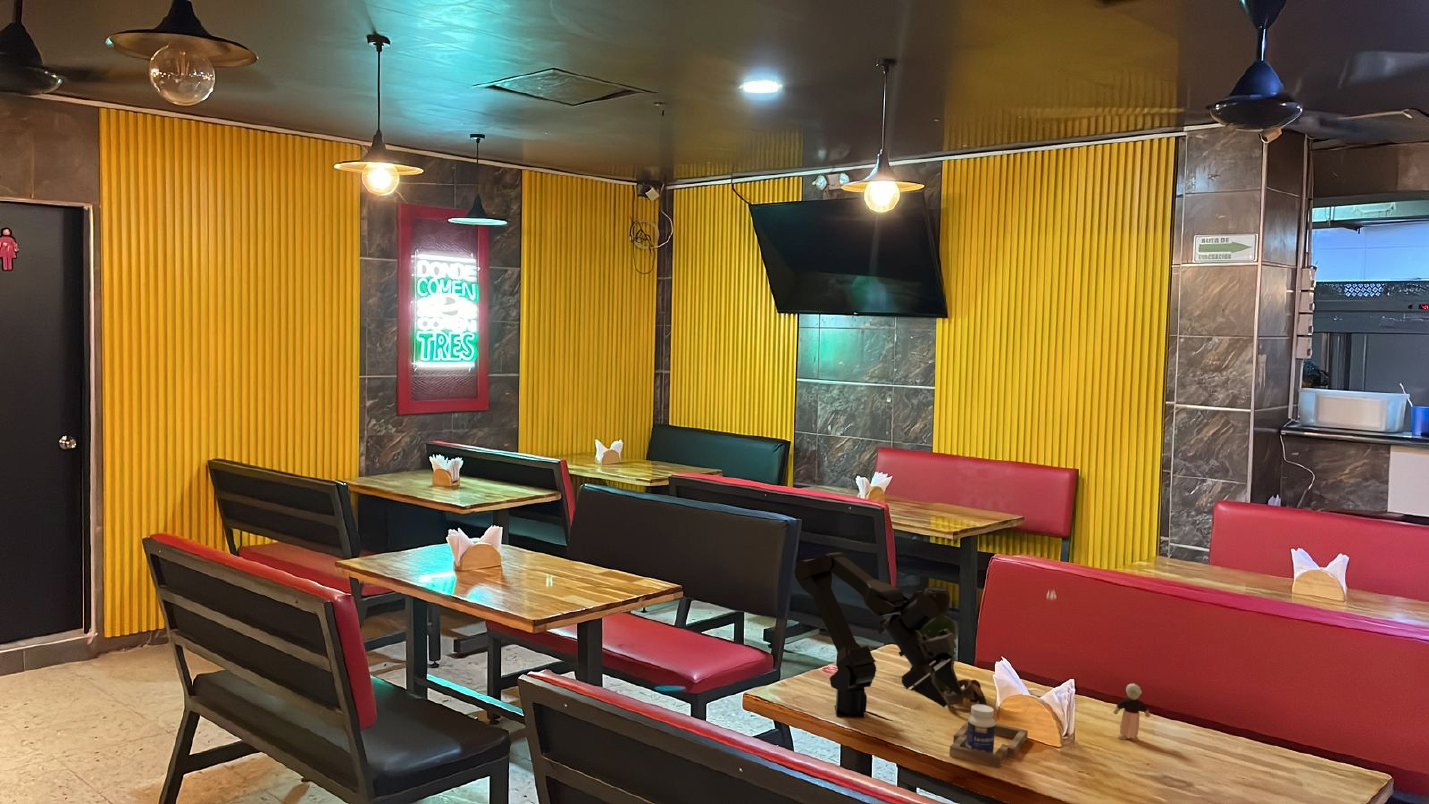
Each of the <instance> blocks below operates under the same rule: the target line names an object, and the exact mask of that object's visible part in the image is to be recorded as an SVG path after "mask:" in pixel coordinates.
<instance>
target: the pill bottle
mask: <svg viewBox="0 0 1429 804" xmlns="http://www.w3.org/2000/svg"><path fill="white" fill-rule="evenodd" d="M970 707H971V709H970V712H971V715H970V716H968V719H967V721H968V728H967V740H966V747H965V748H969V749H973V750H977V751H981V752H986V753H990V754H993V751H994V746H995V736H996V735H995V723H996V720H995V719H994V718H993V717H994V713H995V710H994V708H993V707H992V706H989V705H987V706H986V705H981V704H980V703H978V704H977V703H974V704H972V705H971V706H970Z"/></svg>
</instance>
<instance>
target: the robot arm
mask: <svg viewBox="0 0 1429 804" xmlns="http://www.w3.org/2000/svg"><path fill="white" fill-rule="evenodd" d="M833 575H835V576H836V577H837V578H839V580H840V581H842V582H843V583H844V584H846V585H847V586H849V587H850V588H851V589H852V590H854V591H855V592H856V593H858V594H859V595H860V596H861V597H862V599H863V601H864V605H865V606H866V607H867V608H868V610H870V611H871V613H873V614H874V615H875V616H877V617H883V616H884V617H885V616H889V615H890V617H889V618H888V619H887V618H883V619H882V620H880V621H879V622H878V630H877V633H878V634H879V635H882V634H883V633H885V632H886V633H887V635H889V637H890V638H891V639H892V641H893V642H894V643H895V645H896V646H897V647H898V649H899V650H900V651H899V652H898V655H899V657H900V658H902V657H903V656H904V657H905V659H906V660H907V661H908V662H909V664H910V668H909V670H908V671H907V672H906V673H904V674H903V675H902V676H901V684H902V686H903V687H904V688H905V689H906V690H908V689H910V691H911V692H913V691H914V692H916V693H918V694H920V695H921V696H923V697H926V698H927V699H928V700H931V701H932V702H934V703H936V704H937V705H940V706H941V707H942V708H945V707H946V706H947V702H946V700H945V698H946V697H945V695H943V693H942V690H939V688H938V686H937V685H936V683H935V677H936V678H938V679H939V680H940V681H941V682H942V683H944V684H945V685H946V686H947V687H949V688H950V689H951V690H952V691H953V693H956V694H958V695H960V694H961V693H962V690H963V689H962V687H960V684H959V682H958V681H959V679H958V677H957V674H956V671H955V668H954V667H955V661H956V659H957V658H956V656H955V655H956V654H957V652H956V651H955V649H956V648H958V647H957V644H956V641H954V640H956V639H957V637H956V634H955V635H953V632H952V633H951V632H950V631H949V629H948V628H947V629H943V630H941V631H940V632H939V636H937V637H935V638H931V639H930V638H929V637H928V636H927V635H925V634H924V635H921V634H920V633H919V631H918V630H921V629H922V628H924V627H925V626H926V625H927V624H929V623H930V622H931V621H932V620H934V619H935V618H936V617H937V616H938V614H939V609H938V606H937V604H936V602H934V601H933V600H932V599H931V598H929V597H928V596H925V595H924V591H922V590H919V591H915V592H914V593H912V595H911V596H910V597H909V596H906V595H904V593H903V591H901V590H900V589H899V588H898V587H896V586H893V585H892V584H889V583H886V582H882V581H879V580H877V579H875V578H874V577H872V576H871V575H870V574H868V572H866V571H864V570H863V569H861V568H860V567H859V566H858V565H856V563H854V562H852V561H851V560H850V559H848V558H847V557H846V555H845V554H844V553H842V552H840V551H839V552H832V553H826V554H825V555H822V556H820V557H817V558H811V559H804V560H803V559H802V560H799V561H798V562H797V563H796V566H795V568H794V578H795V579H796V581H797V583H798V584H799V586H800V587H801V589H802V590H803V591H804V592H805V593H806V594H808V595H809V596H811V597H812V599H813V600H814V604H815V606H816V608H817V610H818V612H819V614H820V616H821V619H822V620H823V623H824V625H825V628H826V630H827V632H828V635H829V637H830V638H831V640H832V642H833V643H832V644H833V645H834V647H835V649H836V652H837V653H836V661H835V665H836V668H837V671H836V672H835V673H833V674H832V675H831V676H830V677H829V681H830V683H829V684H830V687H831V688H832V689H835V690H836V692H835V694H836V696H835V705H834V710H835V715H836V717H841V718H842V717H845V718H863V719H864V718H865V714H866V713H867V702H868V701H867V700H868V698H867V697H868V696H867V693H866V692H865V691H866V689H865V688H870V687H871V686H872V683H873V680H874V679H875V677H876V672H877V666H876V662H877V661H876V659H875V658H874V657H873V655H872V652H871V649H870V648H869V646H868V645H866V646H865V645H864V646H861V645H860V644H859V643H857V642H856V639H855V636H854V634H853V632H852V630H851V629H850V625H849V624H848V622H847V620H846V617H845V615H844V613H843V610H842V609H841V607H840V605H839V602H838V600H837V597H836V595H835V594H834V592H833V579H834V578H833ZM953 648H954V650H953ZM953 656H954V658H953V659H951V660H950V658H951V657H953ZM911 665H912V666H913V667H911ZM933 670H935V672H933V673H932V674H930V672H931V671H933ZM913 684H914V685H913ZM912 686H913V687H912ZM947 707H948V706H947Z"/></svg>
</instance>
